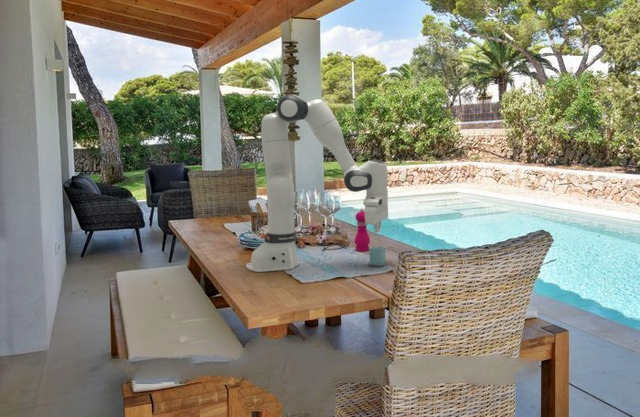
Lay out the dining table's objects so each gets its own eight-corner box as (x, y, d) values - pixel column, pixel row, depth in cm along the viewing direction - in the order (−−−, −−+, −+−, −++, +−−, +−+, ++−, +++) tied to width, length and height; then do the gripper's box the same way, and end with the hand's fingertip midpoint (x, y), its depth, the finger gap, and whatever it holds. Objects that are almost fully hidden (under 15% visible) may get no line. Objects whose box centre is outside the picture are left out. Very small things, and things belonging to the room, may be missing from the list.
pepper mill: (369, 252, 274) (368, 209, 271) (353, 251, 275) (353, 209, 273) (370, 248, 281) (370, 207, 278) (355, 248, 282) (355, 206, 280)
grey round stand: (383, 267, 244) (383, 254, 243) (365, 266, 247) (365, 252, 247) (389, 263, 251) (389, 250, 251) (371, 261, 255) (371, 249, 254)
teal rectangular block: (381, 265, 246) (381, 249, 245) (369, 264, 248) (369, 248, 247) (385, 262, 251) (385, 247, 250) (373, 261, 253) (373, 246, 252)
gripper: (377, 195, 256) (377, 227, 258) (361, 201, 238) (362, 235, 240) (391, 196, 254) (391, 228, 255) (376, 202, 235) (376, 236, 237)
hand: (377, 231), depth 247 cm, fingers closed
